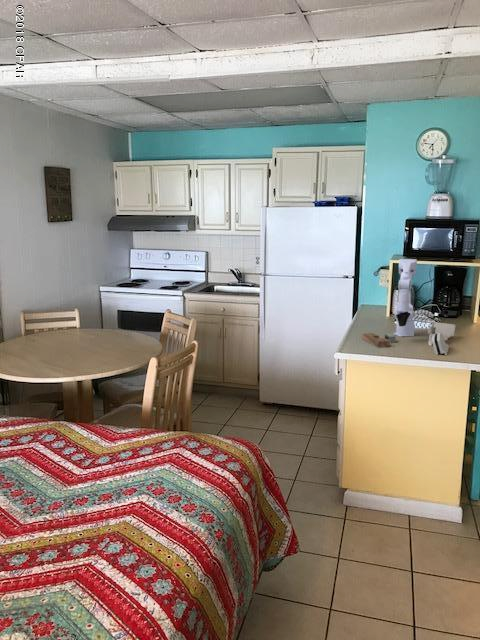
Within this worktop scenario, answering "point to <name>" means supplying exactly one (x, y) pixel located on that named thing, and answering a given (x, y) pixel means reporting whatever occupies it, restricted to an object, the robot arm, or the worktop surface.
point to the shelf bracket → (441, 330)
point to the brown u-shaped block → (376, 340)
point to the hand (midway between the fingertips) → (402, 325)
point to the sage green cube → (390, 337)
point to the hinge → (439, 344)
